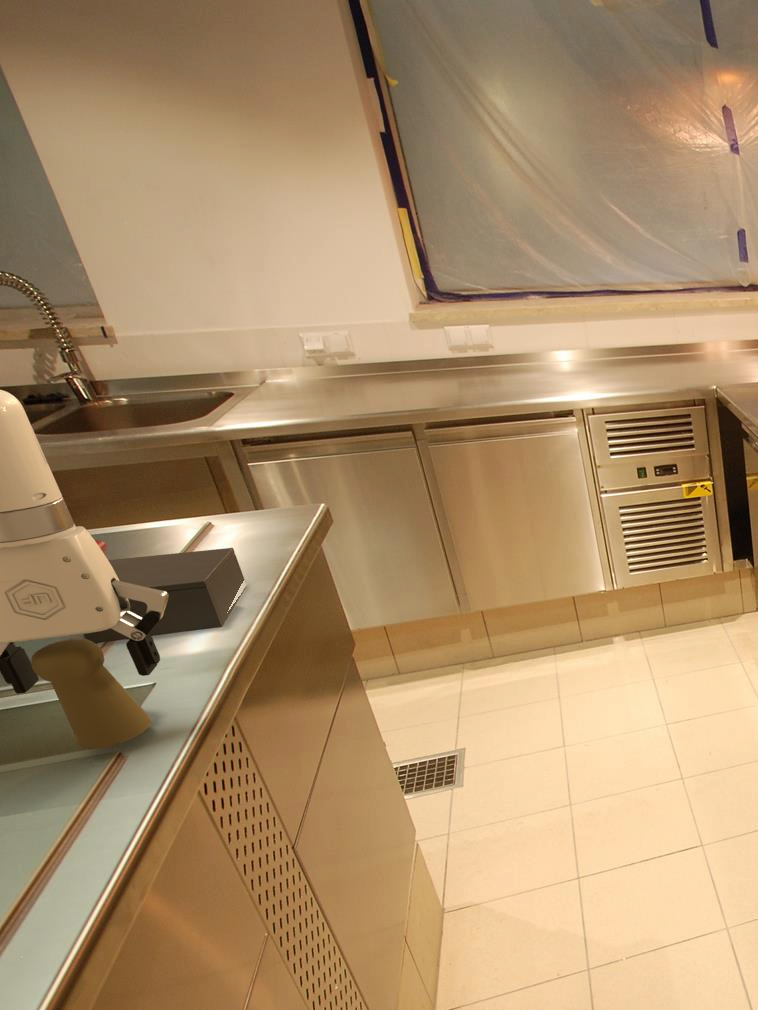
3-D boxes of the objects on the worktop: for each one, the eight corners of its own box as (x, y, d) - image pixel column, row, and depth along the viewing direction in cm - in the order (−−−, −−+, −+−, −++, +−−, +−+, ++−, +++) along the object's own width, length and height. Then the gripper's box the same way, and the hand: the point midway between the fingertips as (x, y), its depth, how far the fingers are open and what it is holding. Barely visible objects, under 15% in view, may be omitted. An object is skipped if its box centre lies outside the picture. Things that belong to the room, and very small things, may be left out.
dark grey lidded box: (91, 651, 108) (68, 602, 105) (132, 610, 120) (112, 565, 117) (224, 634, 114) (206, 587, 111) (250, 596, 126) (235, 552, 123)
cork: (66, 753, 88) (2, 666, 82) (98, 720, 92) (40, 635, 87) (134, 743, 89) (77, 656, 83) (162, 710, 94) (110, 626, 88)
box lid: (59, 603, 105) (42, 566, 103) (104, 565, 117) (90, 532, 115) (206, 586, 111) (192, 551, 109) (235, 552, 123) (223, 520, 121)
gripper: (-136, 544, 74) (-42, 712, 81) (119, 523, 81) (184, 678, 89) (-88, 521, 80) (-5, 678, 88) (145, 503, 87) (204, 650, 95)
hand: (90, 678), depth 88 cm, fingers open, 9 cm apart
